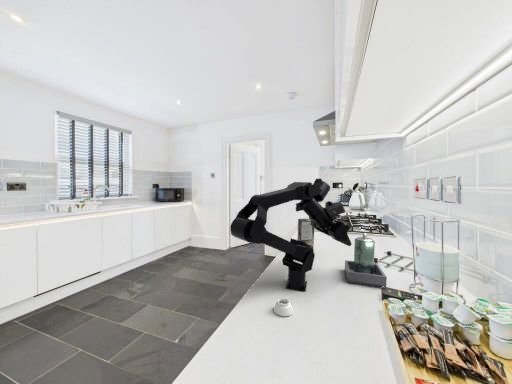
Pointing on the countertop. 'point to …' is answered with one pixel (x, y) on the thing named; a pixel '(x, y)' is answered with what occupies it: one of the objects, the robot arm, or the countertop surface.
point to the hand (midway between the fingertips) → (342, 241)
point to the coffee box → (306, 231)
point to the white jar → (283, 307)
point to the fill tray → (365, 276)
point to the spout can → (364, 255)
